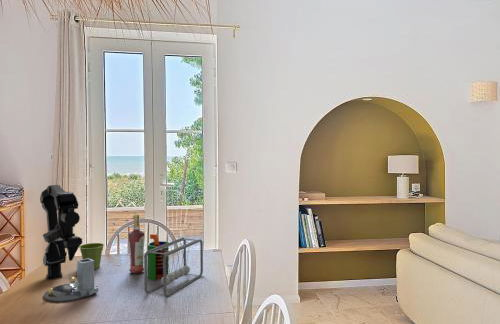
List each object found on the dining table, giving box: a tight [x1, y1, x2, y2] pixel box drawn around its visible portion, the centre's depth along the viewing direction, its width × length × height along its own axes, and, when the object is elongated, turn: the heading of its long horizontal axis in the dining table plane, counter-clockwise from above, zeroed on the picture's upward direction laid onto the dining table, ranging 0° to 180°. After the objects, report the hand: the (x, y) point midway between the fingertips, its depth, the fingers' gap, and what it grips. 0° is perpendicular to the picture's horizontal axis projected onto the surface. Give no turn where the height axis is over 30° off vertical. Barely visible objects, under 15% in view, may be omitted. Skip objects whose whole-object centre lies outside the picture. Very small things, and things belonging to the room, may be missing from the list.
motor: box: [147, 233, 170, 282], centre depth 175 cm, size 10×9×20 cm
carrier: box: [43, 276, 90, 303], centre depth 156 cm, size 19×19×4 cm
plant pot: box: [78, 242, 105, 270], centre depth 189 cm, size 12×12×11 cm
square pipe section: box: [74, 258, 99, 297], centre depth 154 cm, size 9×9×13 cm
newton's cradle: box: [143, 237, 204, 298], centre depth 165 cm, size 30×10×18 cm, turn 157°
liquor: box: [128, 213, 145, 275], centre depth 181 cm, size 7×7×28 cm
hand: (66, 258), depth 160 cm, fingers open, 9 cm apart
